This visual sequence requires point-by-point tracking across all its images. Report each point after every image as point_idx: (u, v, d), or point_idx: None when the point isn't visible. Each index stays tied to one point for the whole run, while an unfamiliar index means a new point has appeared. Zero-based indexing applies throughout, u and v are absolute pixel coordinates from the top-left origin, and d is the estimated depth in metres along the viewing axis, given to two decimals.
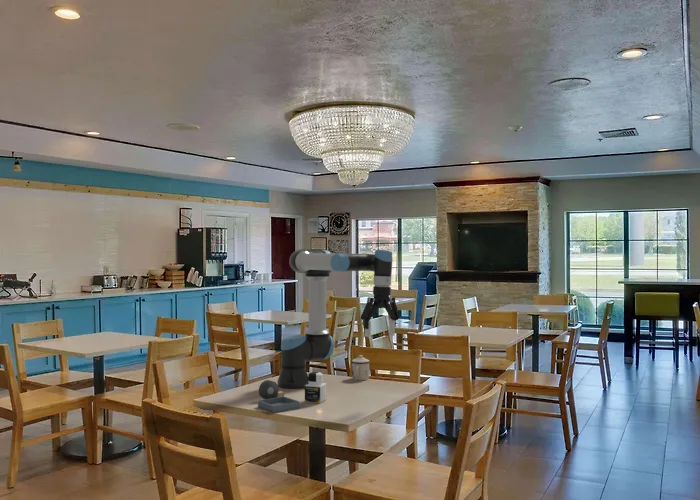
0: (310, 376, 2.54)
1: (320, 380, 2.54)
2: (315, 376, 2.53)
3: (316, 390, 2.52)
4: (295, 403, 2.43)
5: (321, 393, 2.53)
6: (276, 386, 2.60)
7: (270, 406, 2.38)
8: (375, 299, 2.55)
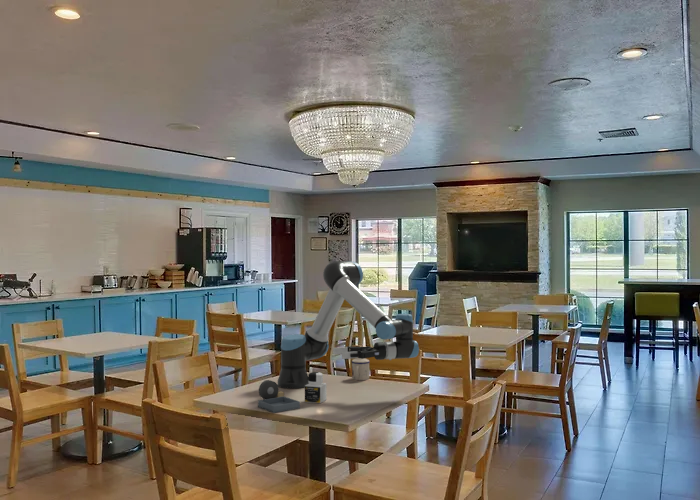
0: (310, 376, 2.54)
1: (320, 380, 2.54)
2: (315, 376, 2.53)
3: (316, 390, 2.52)
4: (295, 403, 2.43)
5: (321, 393, 2.53)
6: (276, 386, 2.60)
7: (270, 406, 2.38)
8: None
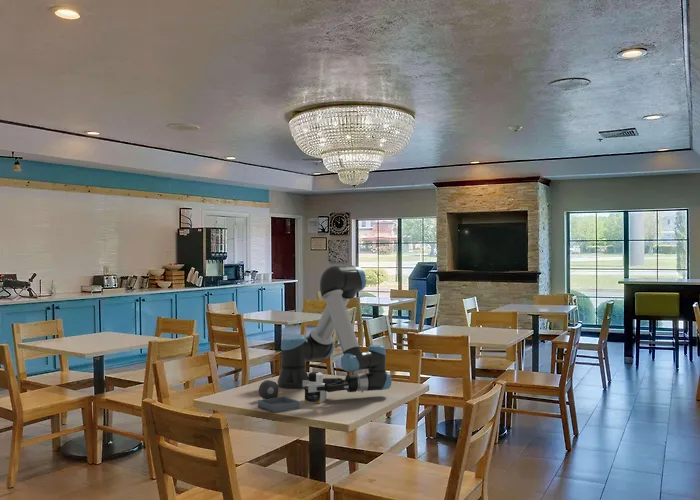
0: (310, 376, 2.54)
1: (320, 380, 2.54)
2: (315, 376, 2.53)
3: None
4: (295, 403, 2.43)
5: (321, 393, 2.53)
6: (276, 386, 2.60)
7: (270, 406, 2.38)
8: None
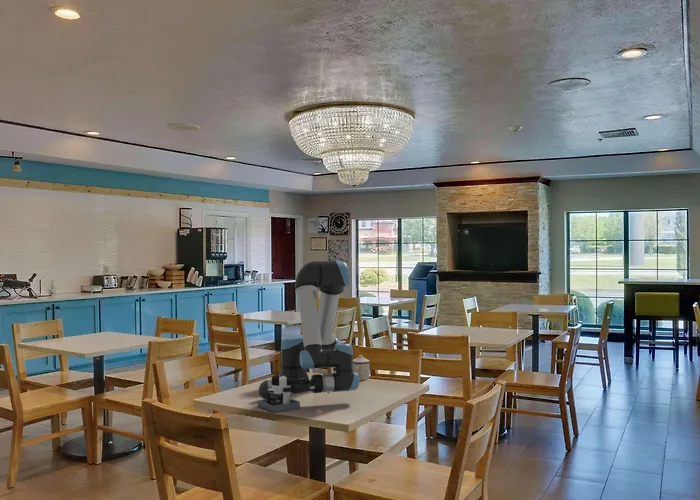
0: (273, 380, 2.43)
1: (283, 384, 2.43)
2: (278, 380, 2.42)
3: (279, 394, 2.41)
4: (295, 403, 2.43)
5: (284, 397, 2.42)
6: None
7: (270, 406, 2.38)
8: None
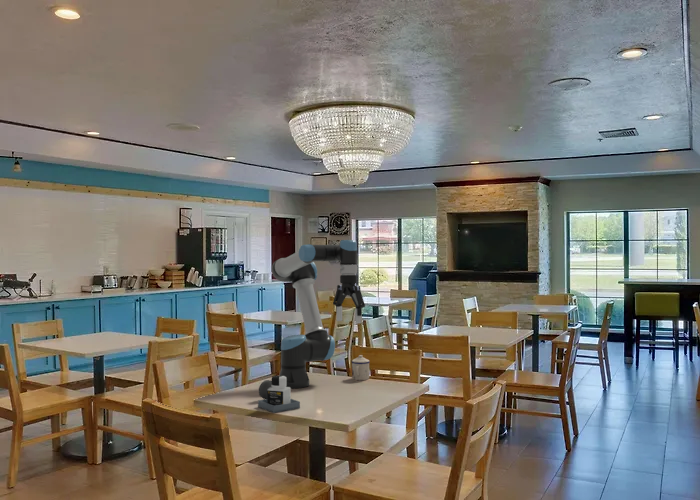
0: (273, 380, 2.43)
1: (283, 384, 2.43)
2: (278, 380, 2.42)
3: (279, 394, 2.41)
4: (295, 403, 2.43)
5: (284, 397, 2.42)
6: None
7: (270, 406, 2.38)
8: (341, 286, 2.74)
